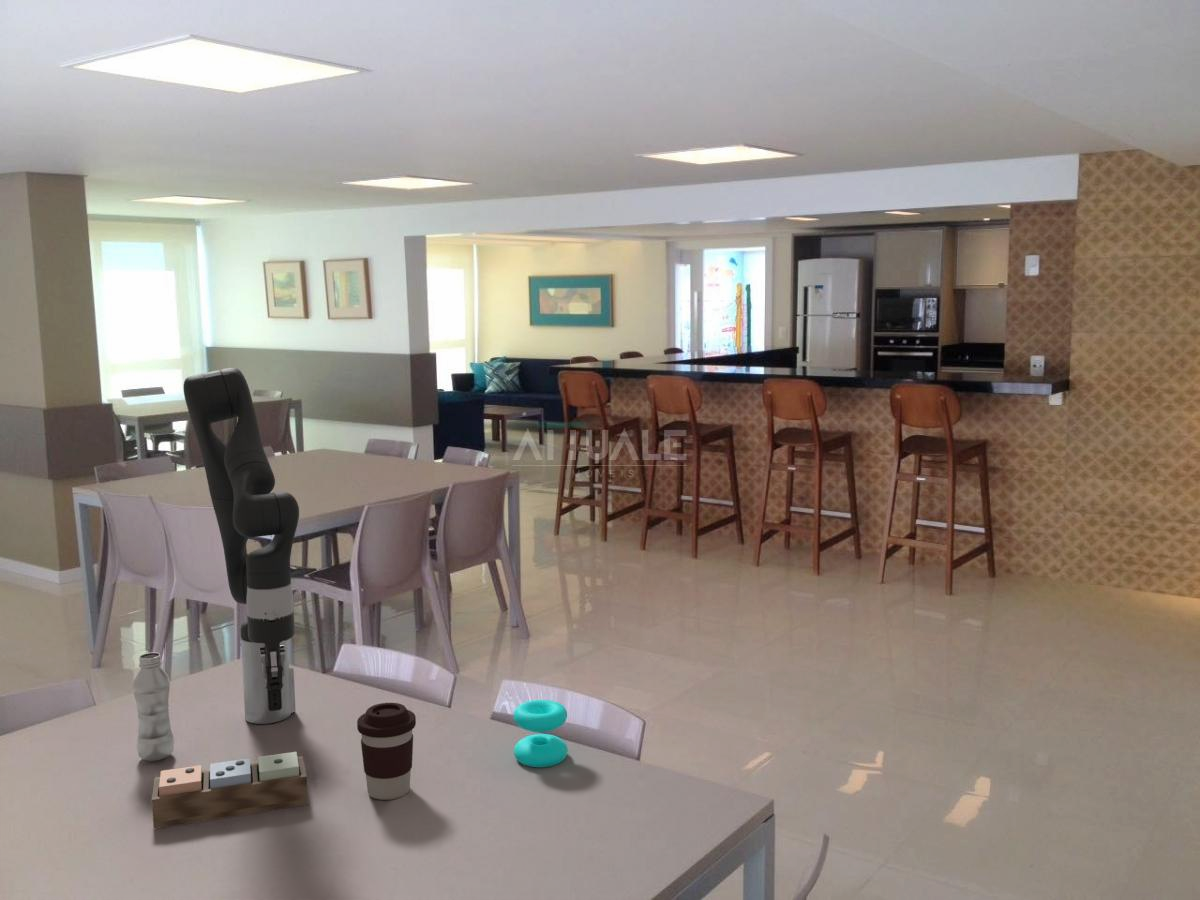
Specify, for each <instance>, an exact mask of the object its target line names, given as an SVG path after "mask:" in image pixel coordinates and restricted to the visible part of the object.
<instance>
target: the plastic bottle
mask: <svg viewBox="0 0 1200 900" xmlns="http://www.w3.org/2000/svg"><path fill="white" fill-rule="evenodd" d="M138 660H139V664H138V667H139V668H140V669H139V672H138V673H137V675H136V676H135V678H134V679H133V683H132V691H133V695H134V699H135V703H136V708H137V710H136V711H137V718H138V730H137V731H138V733H137V734H138V735H137V741H136V743H137V744H136V752H137V753H138V756H139V757H140V758H141V760H142V761H144V762H157V761H161V760H164V759H167V758H168V757H170V756H171V755H172V753H173V752H174V749H175V748H174V746H175V738H174V737H175V736H174V733H173V731H172V726H171V720H170V715H169V714H170V712H169V708H170V707H169V706H170V705H169V699H170V686H171V683H170V682H171V681H170V679H171V678H170V677H169V675H168V673H167V672H166V671H165V670H164V669H163V668H162V667H161V666H162V660H161V653H160V652H156V651H155V652H147V653H143V654H141V655H140V656H139V659H138Z"/></svg>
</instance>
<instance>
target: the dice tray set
mask: <svg viewBox="0 0 1200 900" xmlns="http://www.w3.org/2000/svg"><path fill="white" fill-rule="evenodd" d="M297 758H298V764H299V776H293V777H287V778H280V779H273V780H267V781H260V780H259V765H258V762H253V763H250V772H251V783H247V784H240V785H233V786H227V787H220V788H213V789H210V769H206V770H202V790H200V791H193V792H187V793H180V794H173V795H167V796H160V797H159V782H160V776H158V777H157V776H156V777H154V782H153V787H152V795H151V809H152V821H153V823H152V825H153V829H154V828H156V829H160V828H159V827H163V828H167V826H169V827H174V825H175V826H180V825H187V824H193V823H199V822H205V821H211V820H218V819H225V818H230V817H231V818H232V817H237V816H244V815H249V814H255V813H264V812H269V811H274V810H280V809H288V808H292V807H300V806H301V807H302V806H307V805H309V802H308V782H307V781H308V778H307V776H308V775H307V772H306V766H305V762H304V756H303V755H302V756H297Z"/></svg>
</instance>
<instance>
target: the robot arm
mask: <svg viewBox="0 0 1200 900" xmlns="http://www.w3.org/2000/svg"><path fill="white" fill-rule="evenodd" d="M183 395H184V401H185V403H186V407H187V410H188V414H189V418H190V421H191V424H192V427H193V431H194V433H195V437H196V440H197V442H198V446H199V449H200V453H201V457H202V461H203V466H204V470H205V474H206V475H205V476H206V479H207V485H208V491H209V495H210V499H211V503H212V506H213V507H212V508H213V511H214V514H215V518H216V521H217V525H218V530H219V533H220V538H221V543H222V546H223V552H224V560H225V567H226V574H227V575H226V576H227V580H228V581H227V582H228V587H229V591H230V595H231V597H232V598H233V600H234V601H235V602H236V603H237V604H243V605H246V616H247V619H246V620H245V621H244V622H243V623H242V624H241V625H240V645H241V646H240V647H241V649H240V650H241V662H242V667H241V668H242V684H243V700H244V701H243V702H244V718H245V720H246V722H249V723H251V724H256V725H258V724H259V725H267V724H274V723H278V722H281V721H283V720H286V719H288V718H290V716H291V715H292V714H294V713H295V711H297V708H296V690H295V689H296V688H295V671H294V668H293V667H292V666H290V654H289V653H290V652H289V651H290V649H289V640H291V639H292V638H293V637H294V636H295V634H296V631H295V609H294V608H295V607H294V594H293V589H292V577H291V576H292V575H291V556H292V548H293V544H294V540H295V535H296V533H297V528H298V525H299V518H300V507H299V504H298V501H297V500H296V498H295V497H294V495H292V494H291V493H289V492H286V491H280V492H279V491H277V492H273V490H274V489H275V484H276V478H275V474H274V472H273V469H272V467H271V465H270V462H269V460H268V457H267V455H266V452H265V450H264V449H265V448H264V447H263V446H264V445H263V442H262V438H261V433H260V427H259V422H258V419H257V414H256V410H255V406H254V403H253V402H254V401H253V397H252V394H251V391H250V387H249V385H248V382H247V379H246V377H245V376H244V374H243V372H242V371H241V370H240V369H238V368H236V367H228V368H227V367H225V368H223V369H222V368H221V369H219V370H218V369H216V370H213V371H211V370H210V371H207V372H203V373H202V372H201V373H197V374H193V375H190V376H188V377H186V378H185V379H184V382H183ZM234 418H237V422H236V424H235V427H234V430H233V432H232V434H231V436H230V437H229V440H228V442H227V444H226V443H225V442H224V441H223V440H222V439H221V438H220V436H219V435H218V434H217V433H216V431H215V430H214V428H213V427H212V424H213V423H219V422H223V421H227V420H231V419H234ZM267 536H273V537H272V540H271V541H270V543H268V544H267V545H265V546H263V547H260V548H258V549H255V550H252V551H251V552H249V553H248V550H247V542H248V540H249V539H250V538H260V537H267ZM293 712H294V713H293ZM291 713H292V714H291Z"/></svg>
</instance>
